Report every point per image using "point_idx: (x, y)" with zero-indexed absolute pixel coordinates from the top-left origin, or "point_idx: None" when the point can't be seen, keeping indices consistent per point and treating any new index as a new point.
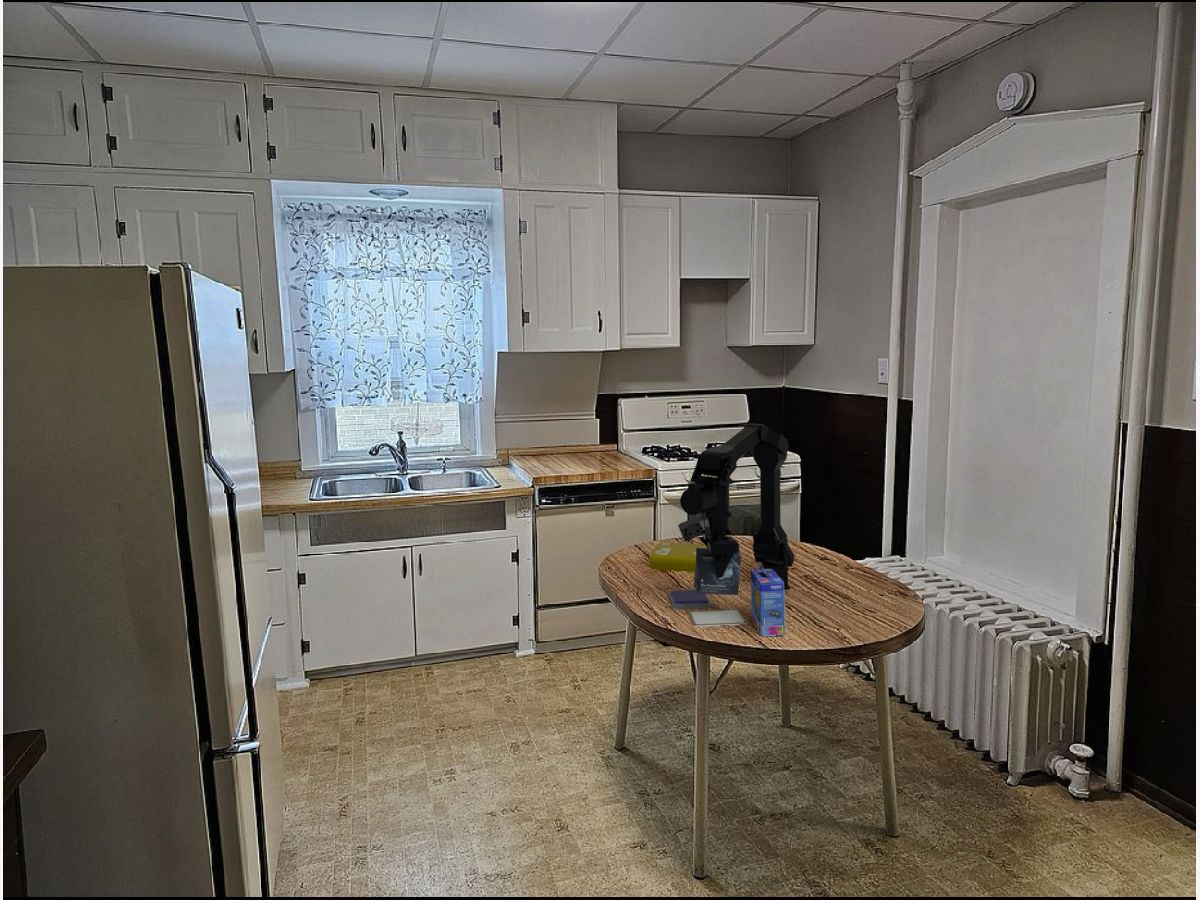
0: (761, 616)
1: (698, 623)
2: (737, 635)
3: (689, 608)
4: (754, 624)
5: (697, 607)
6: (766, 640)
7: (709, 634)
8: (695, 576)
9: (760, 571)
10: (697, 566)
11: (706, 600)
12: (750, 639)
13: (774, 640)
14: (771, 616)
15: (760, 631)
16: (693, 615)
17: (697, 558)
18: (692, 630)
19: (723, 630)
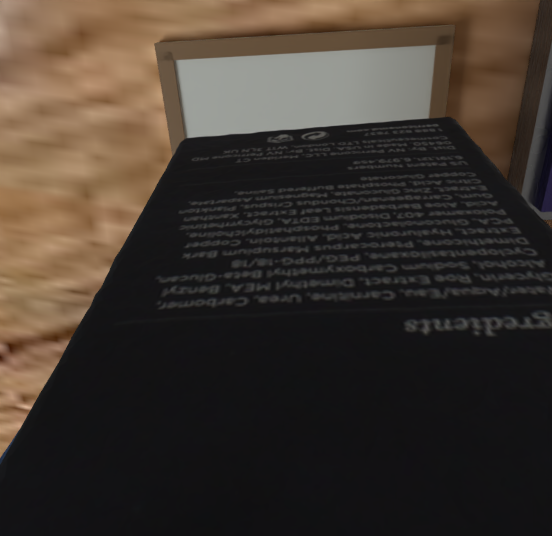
0: (1, 457)
1: (198, 81)
2: (55, 280)
3: (531, 50)
4: None
5: (523, 115)
6: (17, 383)
7: (42, 132)
8: (413, 177)
9: None
10: (325, 300)
11: (542, 197)
12: (14, 326)
13: (24, 410)
14: None
15: None
16: (357, 62)
17: (437, 451)
18: (94, 20)
19: (117, 222)
